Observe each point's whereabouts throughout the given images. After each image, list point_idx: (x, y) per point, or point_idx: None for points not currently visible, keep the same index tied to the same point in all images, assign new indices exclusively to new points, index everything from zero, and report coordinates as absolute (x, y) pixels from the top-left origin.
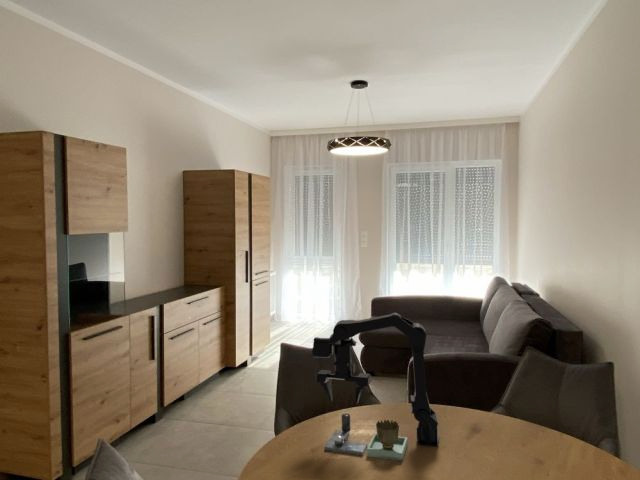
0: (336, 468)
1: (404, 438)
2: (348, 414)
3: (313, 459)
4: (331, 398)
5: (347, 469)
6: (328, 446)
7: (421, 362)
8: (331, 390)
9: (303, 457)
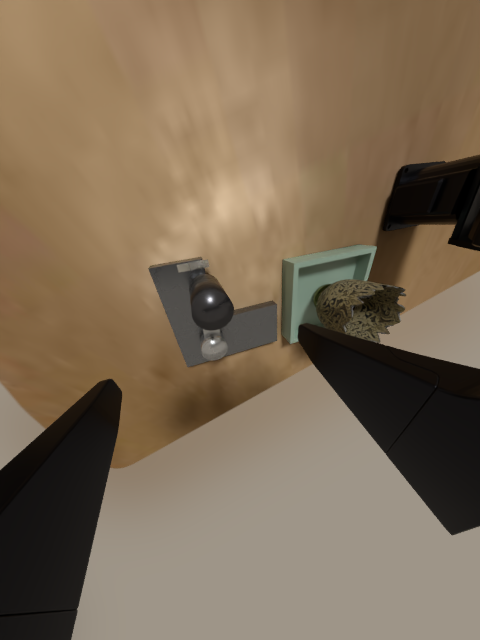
0: (243, 389)
1: (368, 252)
2: (221, 299)
3: (189, 394)
4: (113, 411)
5: (261, 382)
6: (196, 362)
7: None
8: (44, 485)
9: (166, 400)
